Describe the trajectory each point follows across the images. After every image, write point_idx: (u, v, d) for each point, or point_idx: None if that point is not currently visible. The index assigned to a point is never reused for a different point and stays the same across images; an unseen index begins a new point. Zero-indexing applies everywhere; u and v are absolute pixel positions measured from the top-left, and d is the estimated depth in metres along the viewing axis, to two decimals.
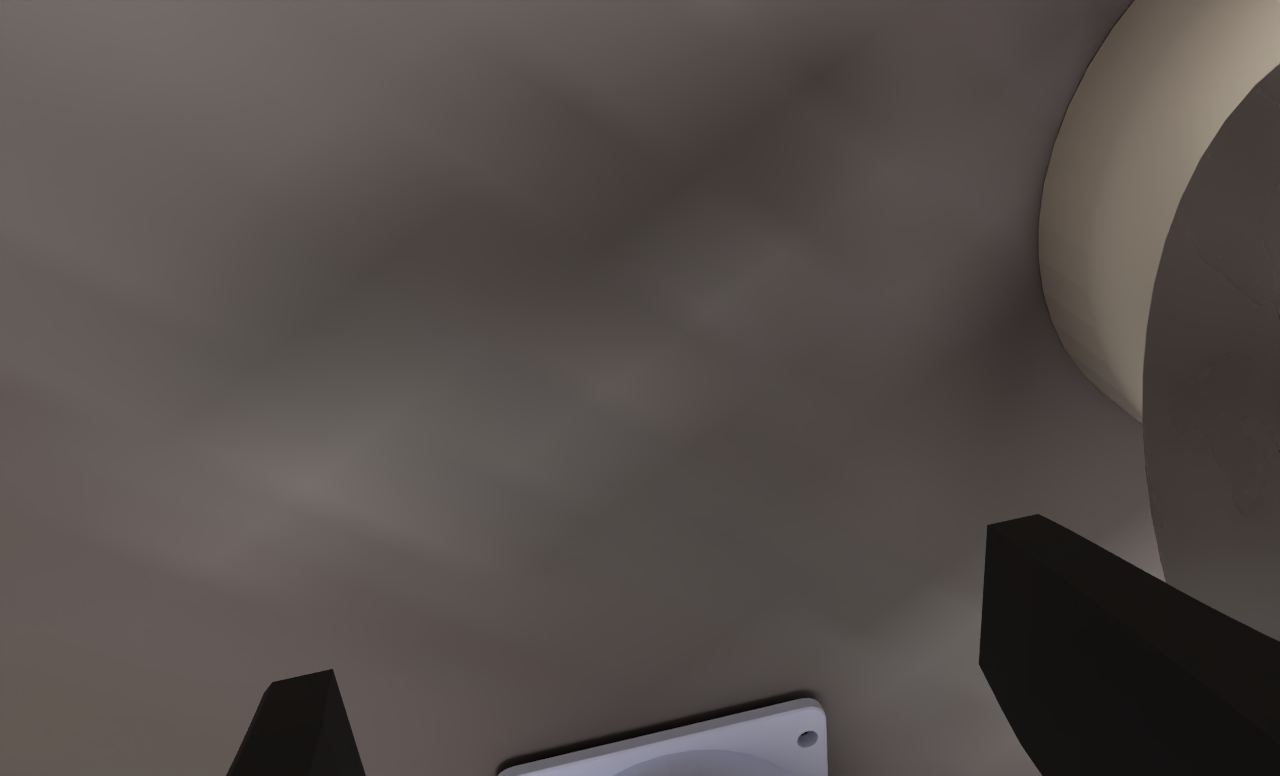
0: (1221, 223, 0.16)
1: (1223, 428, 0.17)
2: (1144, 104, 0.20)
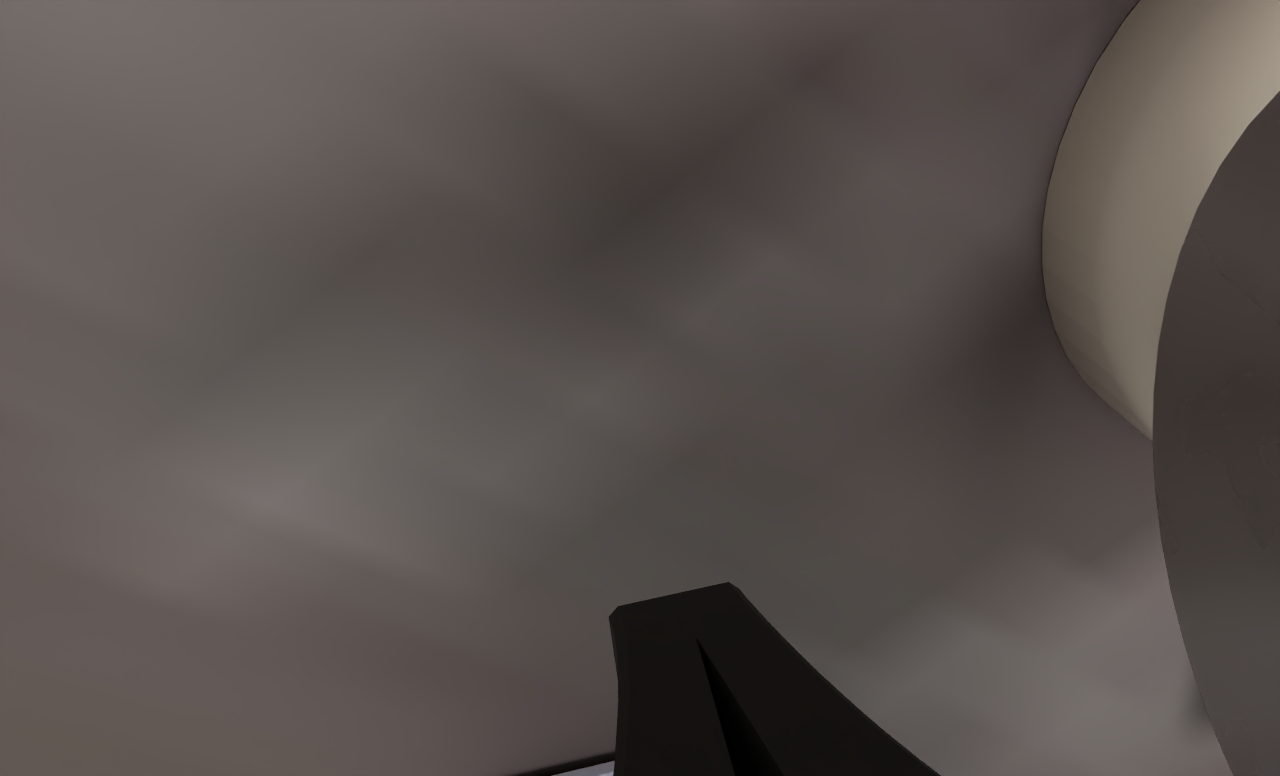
0: (1242, 235, 0.15)
1: (1241, 454, 0.16)
2: (1156, 104, 0.19)
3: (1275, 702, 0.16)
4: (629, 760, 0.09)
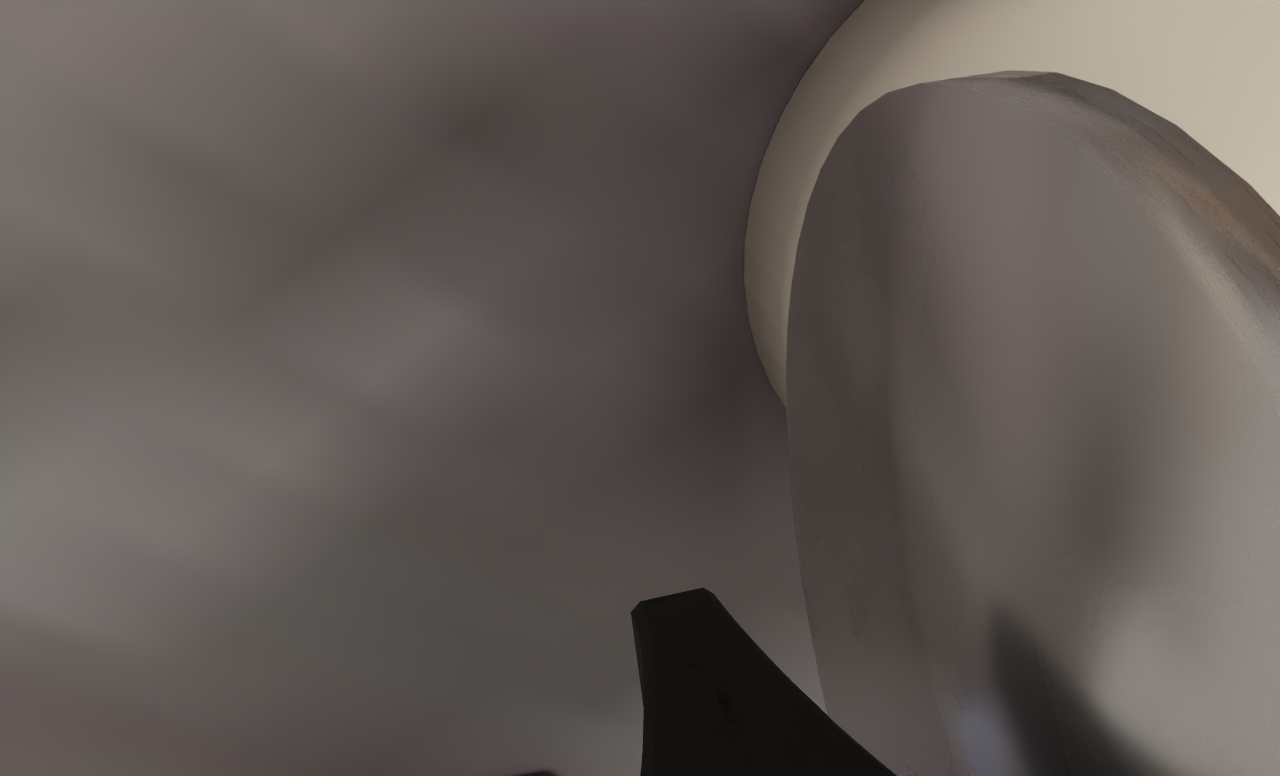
0: (816, 318, 0.14)
1: (839, 544, 0.15)
2: (813, 165, 0.18)
3: None
4: (657, 753, 0.09)
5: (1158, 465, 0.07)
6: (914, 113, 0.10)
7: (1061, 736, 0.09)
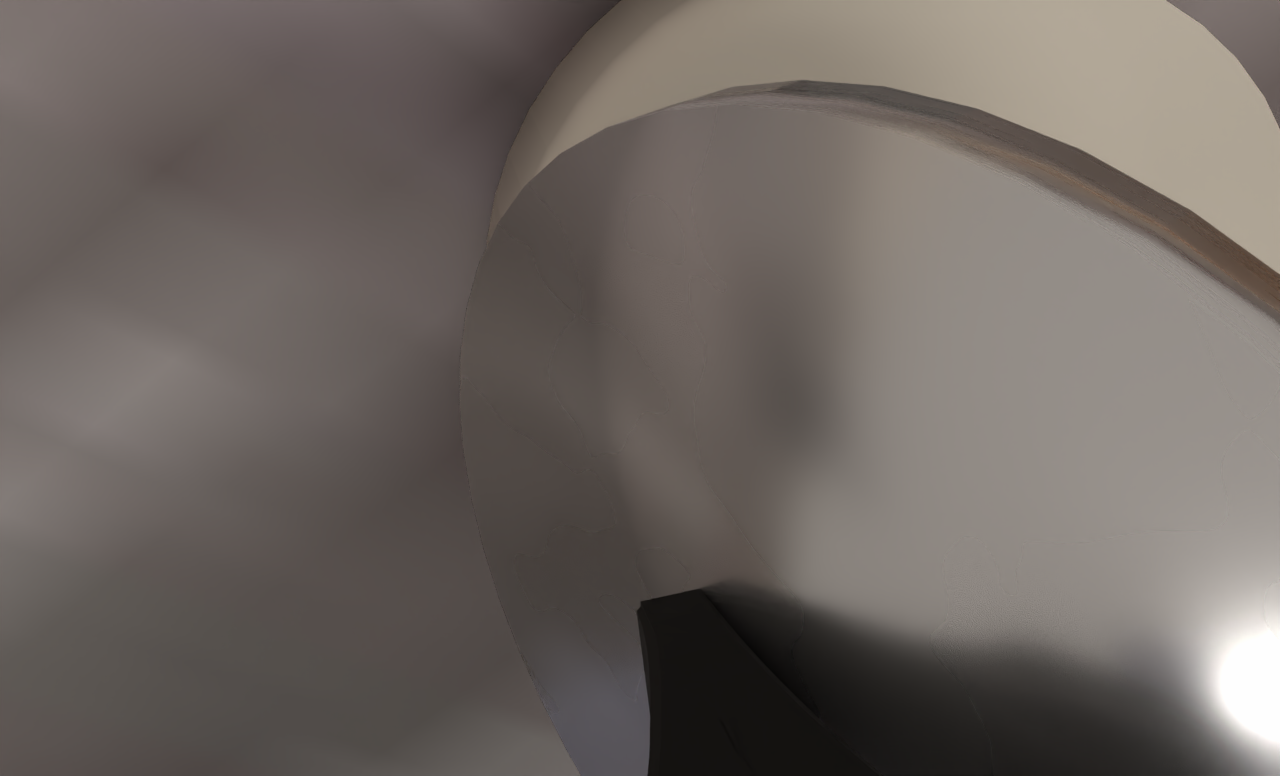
0: (511, 381, 0.13)
1: (584, 607, 0.14)
2: None
3: None
4: (664, 752, 0.09)
5: (1086, 423, 0.07)
6: (655, 143, 0.09)
7: (972, 709, 0.09)
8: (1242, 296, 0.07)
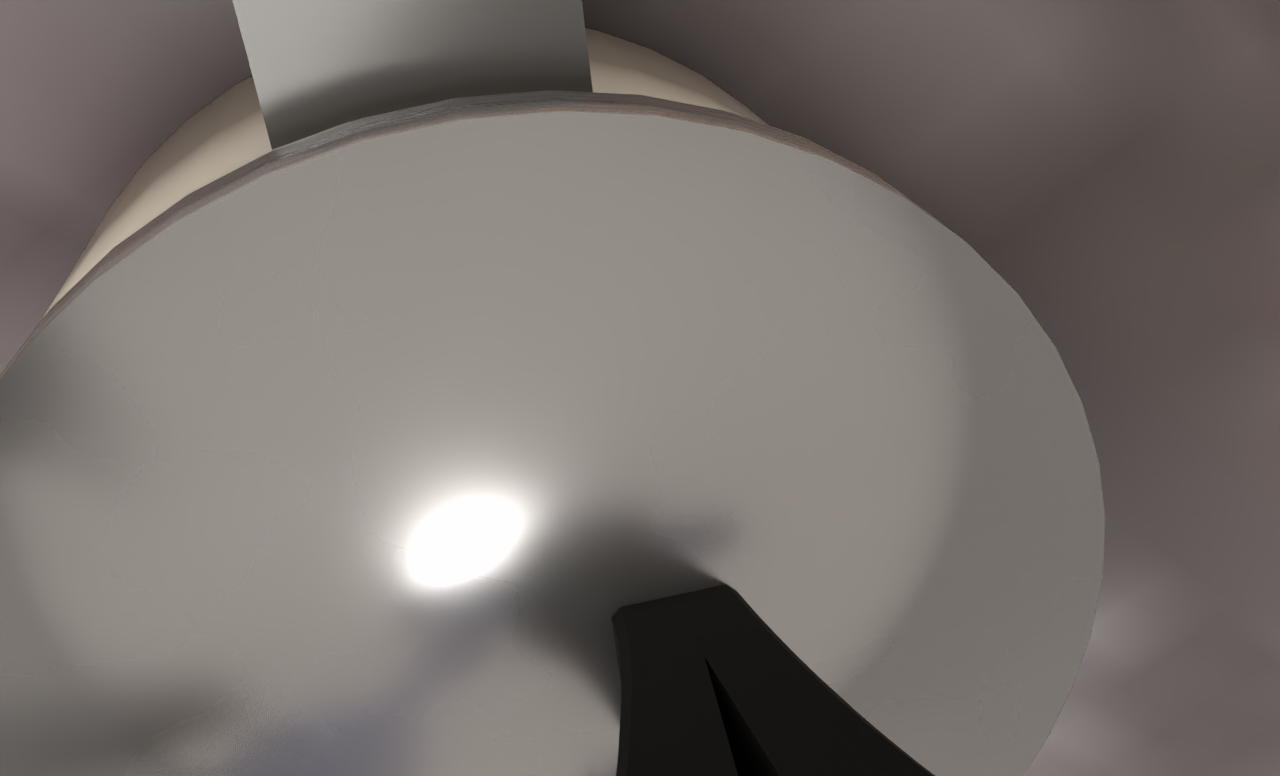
0: (23, 613, 0.10)
1: None
2: None
3: None
4: (632, 760, 0.09)
5: (744, 270, 0.10)
6: (257, 215, 0.09)
7: (695, 554, 0.12)
8: (799, 144, 0.10)
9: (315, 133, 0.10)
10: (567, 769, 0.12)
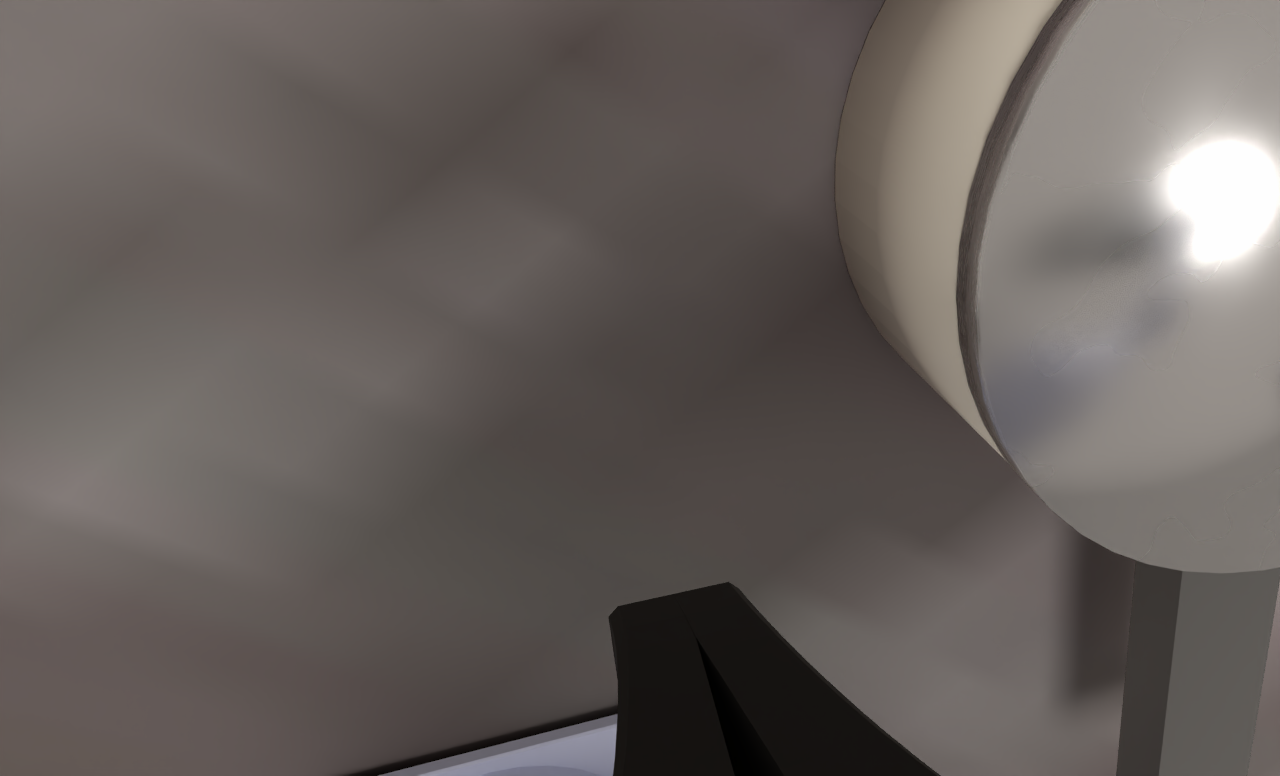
0: (1086, 137, 0.16)
1: (1123, 318, 0.17)
2: (910, 67, 0.19)
3: (1202, 466, 0.19)
4: (629, 760, 0.09)
5: None
6: None
7: None
8: None
9: None
10: None
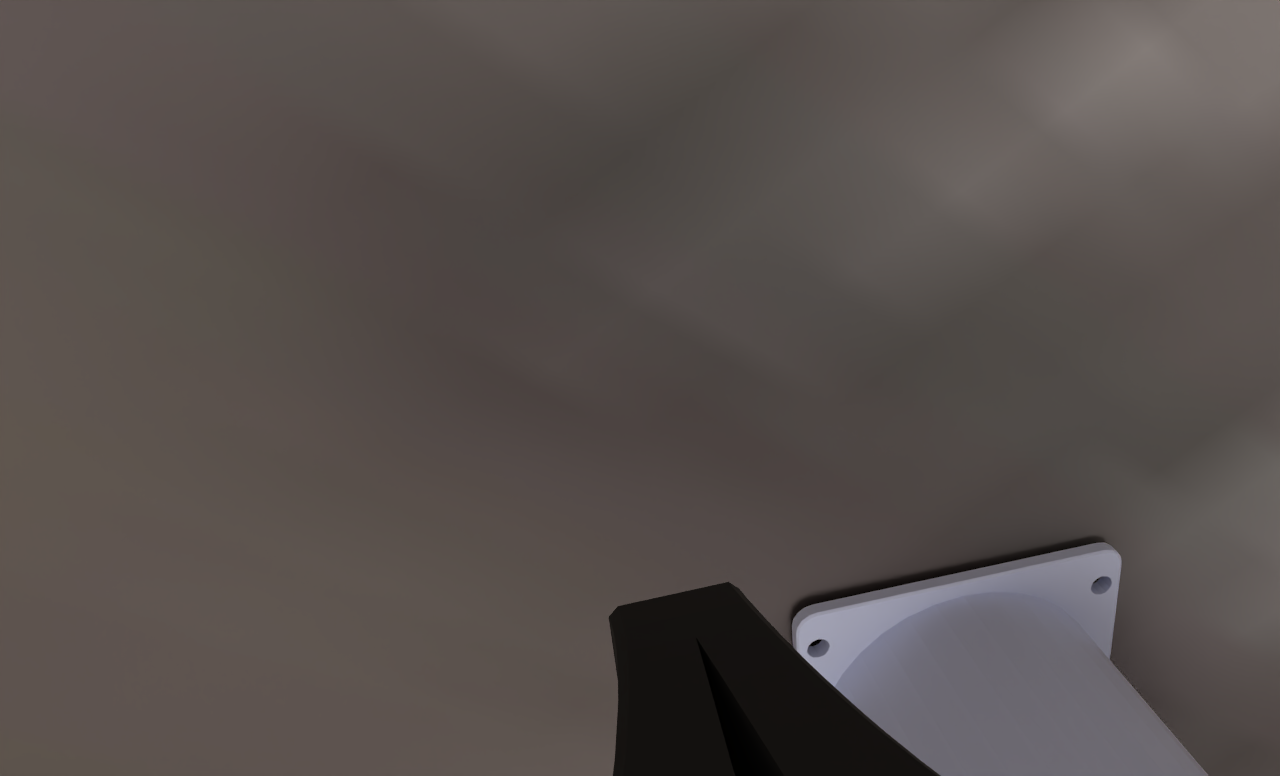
0: None
1: None
2: None
3: None
4: (629, 760, 0.09)
5: None
6: None
7: None
8: None
9: None
10: None
